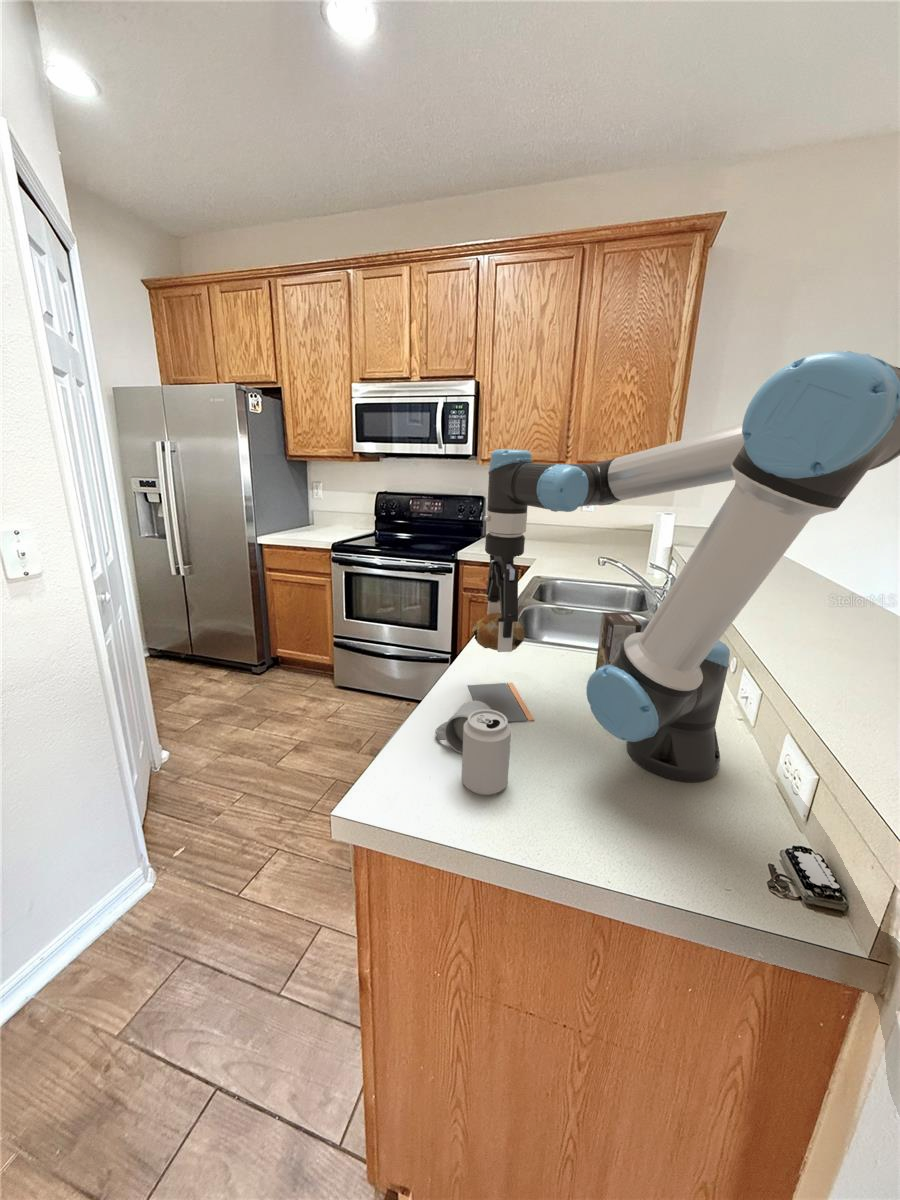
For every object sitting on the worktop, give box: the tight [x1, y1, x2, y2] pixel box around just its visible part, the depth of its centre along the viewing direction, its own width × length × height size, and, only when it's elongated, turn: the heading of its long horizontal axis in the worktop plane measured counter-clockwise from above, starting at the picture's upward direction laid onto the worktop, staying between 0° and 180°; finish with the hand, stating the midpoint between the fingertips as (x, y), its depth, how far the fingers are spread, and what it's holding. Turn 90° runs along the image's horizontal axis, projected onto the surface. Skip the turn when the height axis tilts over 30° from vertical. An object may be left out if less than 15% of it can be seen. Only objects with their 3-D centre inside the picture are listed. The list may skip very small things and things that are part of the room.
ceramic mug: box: [434, 699, 492, 755], centre depth 89 cm, size 11×8×8 cm
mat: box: [467, 682, 535, 724], centre depth 104 cm, size 16×10×1 cm, turn 9°
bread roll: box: [471, 613, 525, 652], centre depth 99 cm, size 10×10×8 cm
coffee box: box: [594, 611, 643, 672], centre depth 111 cm, size 9×6×16 cm
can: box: [461, 709, 512, 796], centre depth 77 cm, size 8×8×12 cm
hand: (498, 640), depth 100 cm, fingers closed on bread roll, 10 cm apart
